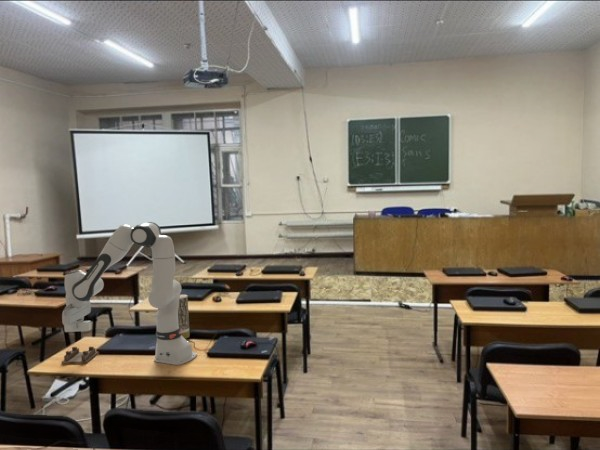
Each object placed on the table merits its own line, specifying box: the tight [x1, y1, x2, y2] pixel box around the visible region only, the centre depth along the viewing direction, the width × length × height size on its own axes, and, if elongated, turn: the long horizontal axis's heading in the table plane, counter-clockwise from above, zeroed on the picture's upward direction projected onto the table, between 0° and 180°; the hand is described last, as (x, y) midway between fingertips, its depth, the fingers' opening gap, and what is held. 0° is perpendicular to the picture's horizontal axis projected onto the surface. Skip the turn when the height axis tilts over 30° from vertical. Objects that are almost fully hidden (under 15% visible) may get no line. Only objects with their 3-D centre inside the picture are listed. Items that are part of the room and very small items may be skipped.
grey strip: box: [63, 320, 92, 333], centre depth 212 cm, size 12×3×4 cm, turn 95°
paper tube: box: [178, 294, 191, 340], centre depth 238 cm, size 7×7×25 cm
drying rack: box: [61, 346, 100, 365], centre depth 213 cm, size 13×12×5 cm
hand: (78, 327), depth 212 cm, fingers closed on grey strip, 3 cm apart
